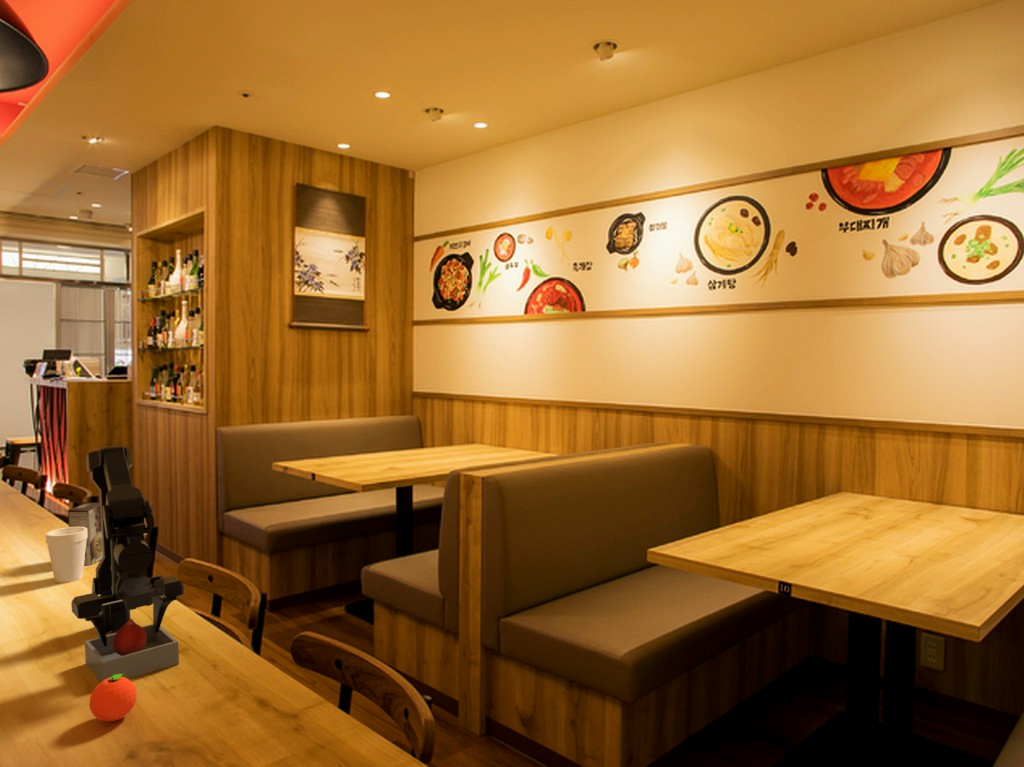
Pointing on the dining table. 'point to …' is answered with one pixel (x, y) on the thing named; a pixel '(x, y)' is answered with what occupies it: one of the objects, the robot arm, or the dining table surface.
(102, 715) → the clementine
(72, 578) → the foam cup
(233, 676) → the dining table surface
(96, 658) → the bin
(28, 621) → the dining table surface
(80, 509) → the coffee box
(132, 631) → the onion
